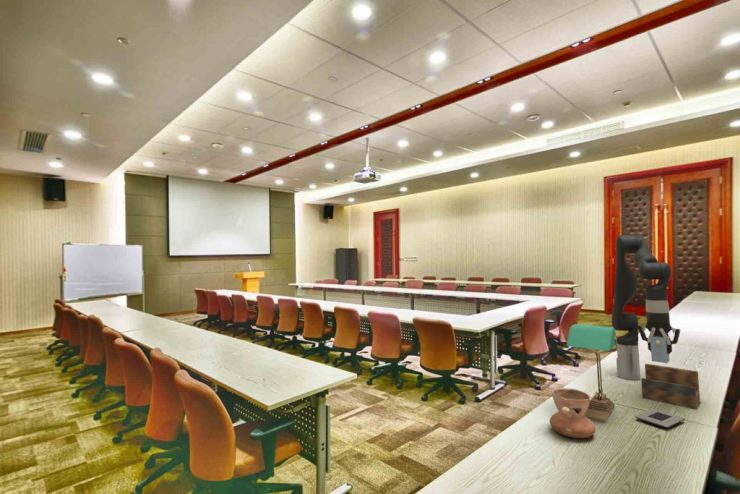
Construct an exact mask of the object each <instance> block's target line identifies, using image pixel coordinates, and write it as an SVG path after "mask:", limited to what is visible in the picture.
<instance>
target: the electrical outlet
mask: <svg viewBox="0 0 740 494" xmlns="http://www.w3.org/2000/svg"><path fill="white" fill-rule="evenodd" d="M634 418H635V419H637V420H640V421H643V422H645V423H649V424H652V425H655V426H658V427H661V428H664V429H668V428H670V427H672V426H675V425H677V424H679V423H681V422H683V421H685V420H686V418H685V417H683V416H682V417H681V416H680V415H679V416H678V415H675V414H671V413H669V412H665V411H661V410H659V409H655V408H651V409H649V410H646V411H644V412H642V413H639V414H637V415H634Z"/></svg>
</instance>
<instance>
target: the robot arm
mask: <svg viewBox="0 0 740 494" xmlns="http://www.w3.org/2000/svg"><path fill="white" fill-rule="evenodd" d="M626 254H629V255H631V254H634V255H633V261H634V262H635V264H636V265H637V267H638V274H639V277H640V278H642V280H643V279H644V280H649V281H650V280H652V281H653V280H655V281H656V280H657V283H655V284H652V285H651V284H650V285H647V286H646V287H645V314H646V315H645V316H646V324H645V325H642V324H641V325H639V318H638V316H637V314H635V313H634V312H623V311H624V309H625V306H626V305H627V304H628V303H629V302H630V301H631V300H632V299H633V297H634V296H635V294H636V293H637V291H638V290H637V289H638V277H637V275H636V274H635V273H634V271H633V270H632V269H631V267H630V266H629V265H628V262H627V261H626ZM614 275H615V276H614V293H613V294H614V296H613V297H614V299H613V307H612V314H611V327H613V328H614V329H615V331H618V332H619V331H622V332H626V333H625V334H624V335H620V336H616V339H617V346H618V349H617V351H616V353H617V354H616V355H617V358H616V375H617V378H621V379H624V380H629V381H639V380H640V381H641V365H640V364H641V363H640V352H639V351H640V350H639V349H640V348H639V335H640V338H641V340H642V341H645V342H647V349H648V351H649V352H650V353H651V343H650V336H653V335H654V336H663V337H664V338H666V342H667V354H669V355H670V354H671V353H672V352H673V345H676V344H677V343H679V337H680V334H681V329H680V328H674V327H672V325H671V320H670V319H671V318H670V306H669V302H668V299H669V298H668V285H669V282H670V279H671V275H672V268H671V266H670V264H668V263H667V262H662V261H660V262H659V261H658V259H657V258H656V257H655V256H654V255H653V254H652V253H651V251H650V249H649V246H648V244H647V242H646V240H645V238H644V237H643V236H642V235H641V234H621V235H618V236H617V237H616V241H615V274H614ZM646 329H647V330H648V332H649V335H648V337H647V335H646V333H645V331H646ZM671 331H672V333H673V335H674V336H673V340H672V339H671V336H670V335H669V333H670V332H671Z"/></svg>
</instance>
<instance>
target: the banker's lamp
mask: <svg viewBox="0 0 740 494" xmlns="http://www.w3.org/2000/svg"><path fill="white" fill-rule="evenodd" d="M566 346H567V347H573V348H579V349H582V350H585V351H588V352H591V353H593V354H595V359H596V371H597V374H596V375H597V389H598V390H597V391H598V392H597V391H596V392H595V395H593V396H592V398H590V403H589V406H588V409H587V412H586V414H585V417H587V418H588V419H590V421H592V420H593V421H592V422H596V421H597V422H598V423H600V424H606V423H607V421H608V419H609V418H610V416H611V414H612V413H613V410H614V409H615V403H614V402H613V400H611V398H610V397H607V393H603V379H602V378H603V377H602V365H601V354H605V353H615V352H616V353H617V349H618V346H617V334H616V330H615V329H614V328H613V327H612V326H603V325H591V324H577V323H576V324H575V323H574V324H573V325H571V326H570V327H569V330H568V336H567V341H566ZM614 347H615V348H614ZM597 350H598V352H597Z"/></svg>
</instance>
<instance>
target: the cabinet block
mask: <svg viewBox="0 0 740 494" xmlns="http://www.w3.org/2000/svg"><path fill="white" fill-rule="evenodd" d="M650 343H651V352H650V354H651V357H650V358H651V362H656V363H663V364H668V363H669V362H671V361H670V354H667V342H666V338H664V337H663V336H654V335H653V336H650Z"/></svg>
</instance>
